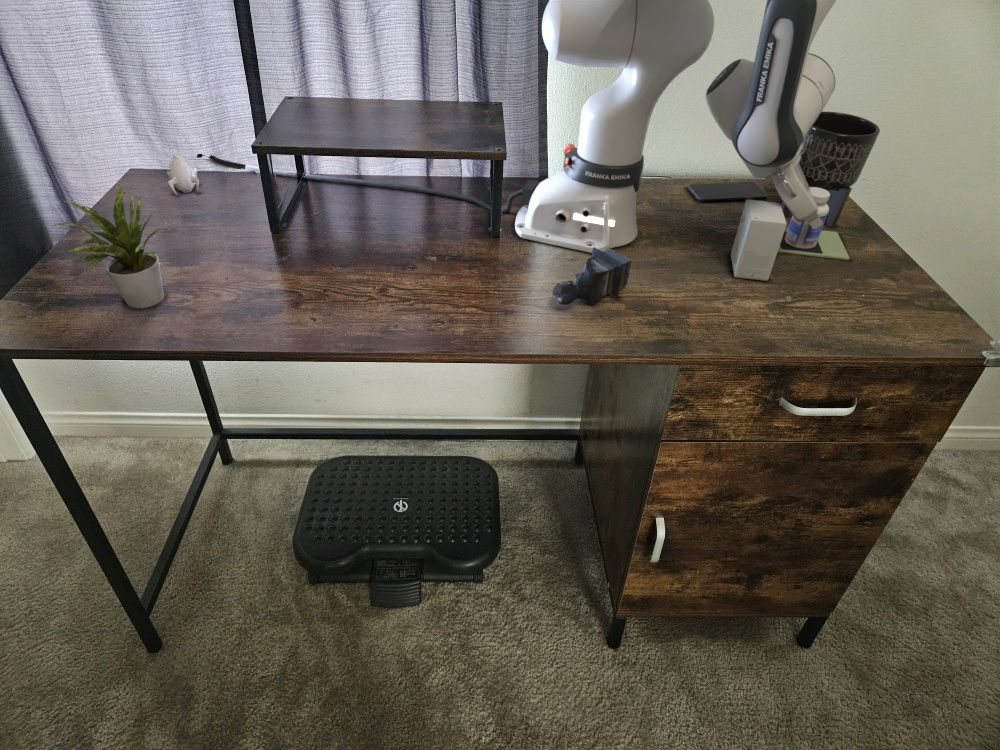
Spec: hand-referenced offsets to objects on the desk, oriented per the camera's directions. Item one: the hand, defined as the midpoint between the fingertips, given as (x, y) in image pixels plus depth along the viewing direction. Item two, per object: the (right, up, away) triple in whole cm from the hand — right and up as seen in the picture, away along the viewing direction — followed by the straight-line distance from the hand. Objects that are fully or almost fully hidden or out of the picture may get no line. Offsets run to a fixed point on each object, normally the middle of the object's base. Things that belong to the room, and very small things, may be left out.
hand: (812, 213), depth 113 cm
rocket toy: (-116, +7, +13) cm, 117 cm away
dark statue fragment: (-41, -16, -12) cm, 45 cm away
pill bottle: (-1, -5, +3) cm, 6 cm away
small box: (-13, -10, -3) cm, 17 cm away
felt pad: (0, -4, +5) cm, 6 cm away
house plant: (-109, -16, -15) cm, 112 cm away
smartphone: (-8, +9, +20) cm, 23 cm away
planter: (+5, +3, +13) cm, 15 cm away
